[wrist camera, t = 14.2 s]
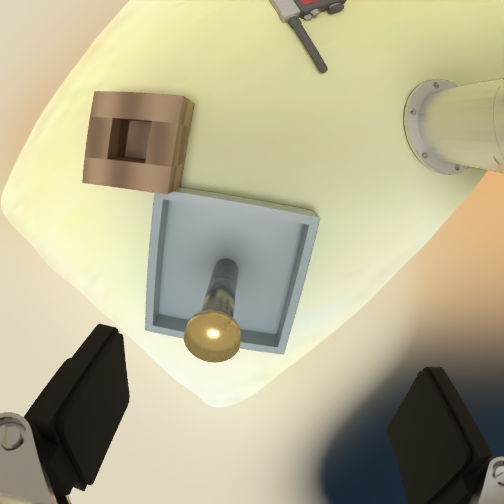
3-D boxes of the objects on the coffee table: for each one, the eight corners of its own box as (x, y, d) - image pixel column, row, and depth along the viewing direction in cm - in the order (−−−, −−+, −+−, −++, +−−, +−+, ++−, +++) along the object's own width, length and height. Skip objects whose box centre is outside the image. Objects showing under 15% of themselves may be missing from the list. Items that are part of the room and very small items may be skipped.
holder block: (194, 103, 34) (183, 96, 28) (180, 186, 37) (167, 194, 31) (116, 97, 33) (94, 91, 28) (105, 176, 36) (82, 182, 31)
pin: (248, 255, 39) (245, 321, 25) (241, 290, 40) (235, 366, 26) (210, 249, 39) (186, 311, 24) (205, 283, 40) (182, 356, 26)
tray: (313, 210, 38) (320, 217, 34) (281, 338, 43) (283, 354, 40) (164, 184, 37) (155, 188, 33) (152, 315, 42) (145, 330, 39)
